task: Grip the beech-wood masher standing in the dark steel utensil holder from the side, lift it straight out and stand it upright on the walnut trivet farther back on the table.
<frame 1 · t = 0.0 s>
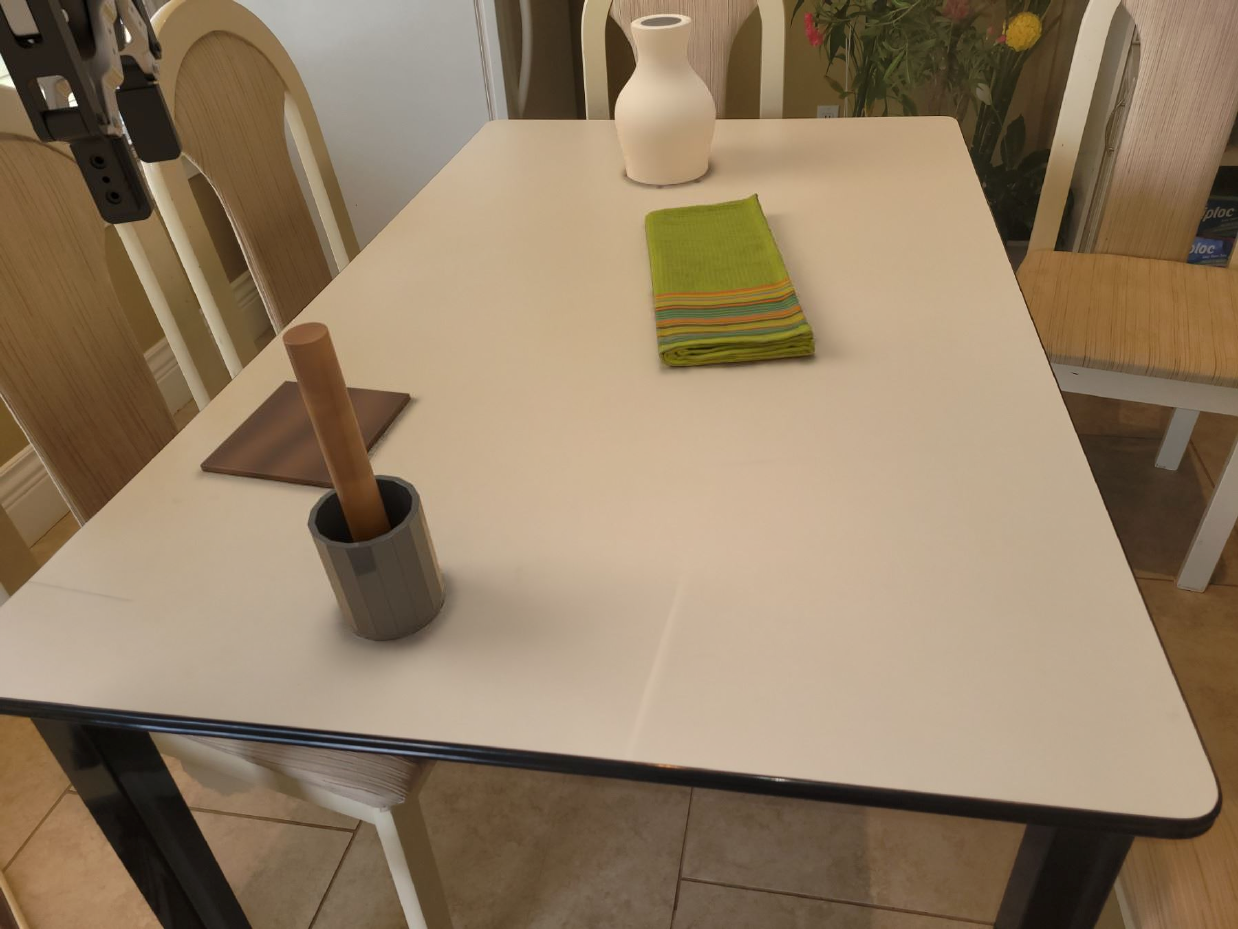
hand: (148, 187, 45), 32 cm above the table, tool pointing down, fingers open, 8 cm apart
vase: (667, 170, 130), on the table
holder: (394, 601, 65), on the table
trivet: (310, 432, 83), on the table
masher: (392, 595, 65), point 1 cm above the table, touching holder
dish towel: (717, 283, 101), on the table
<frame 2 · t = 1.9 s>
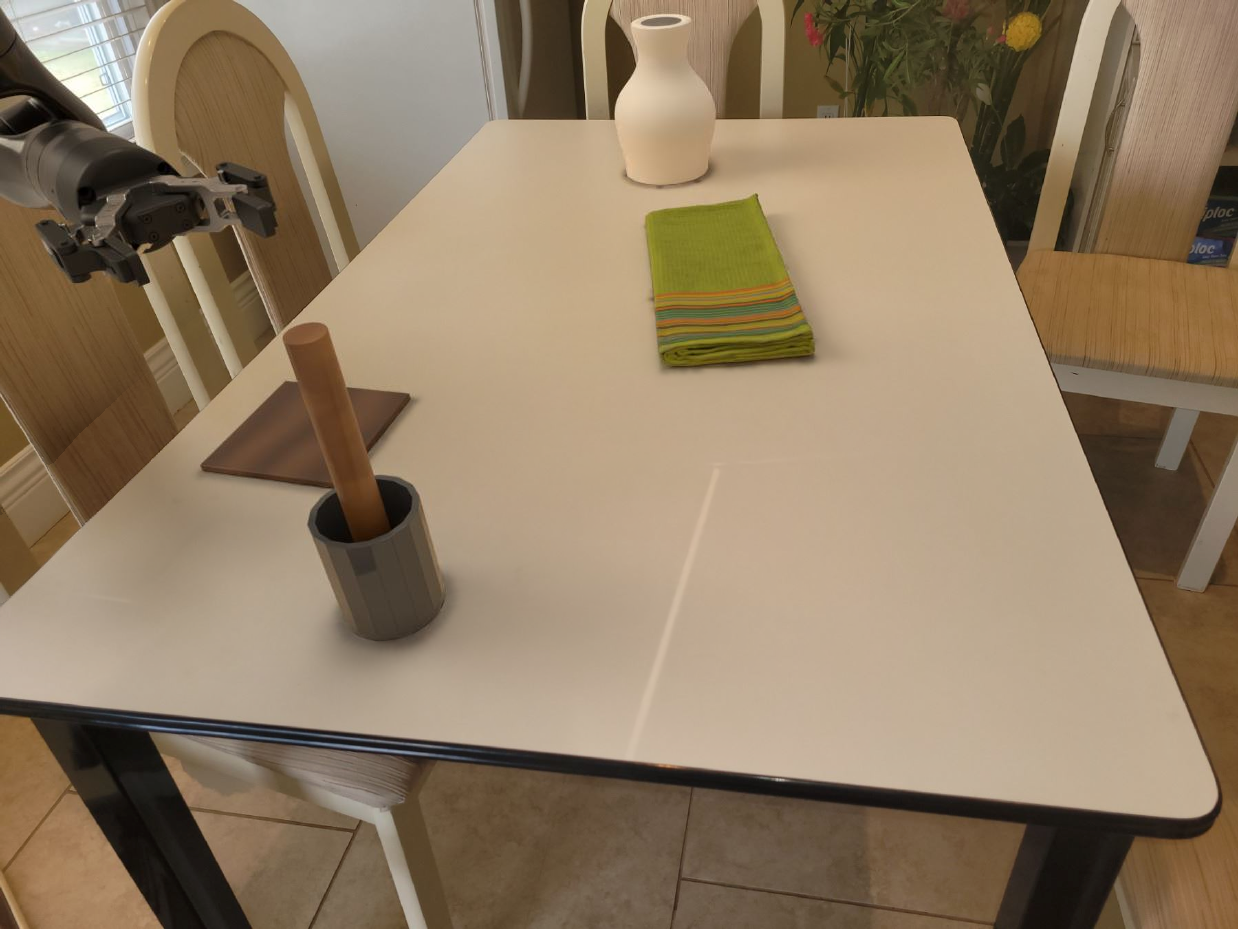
hand: (206, 245, 56), 25 cm above the table, tool horizontal, fingers open, 8 cm apart
nothing on the table moved.
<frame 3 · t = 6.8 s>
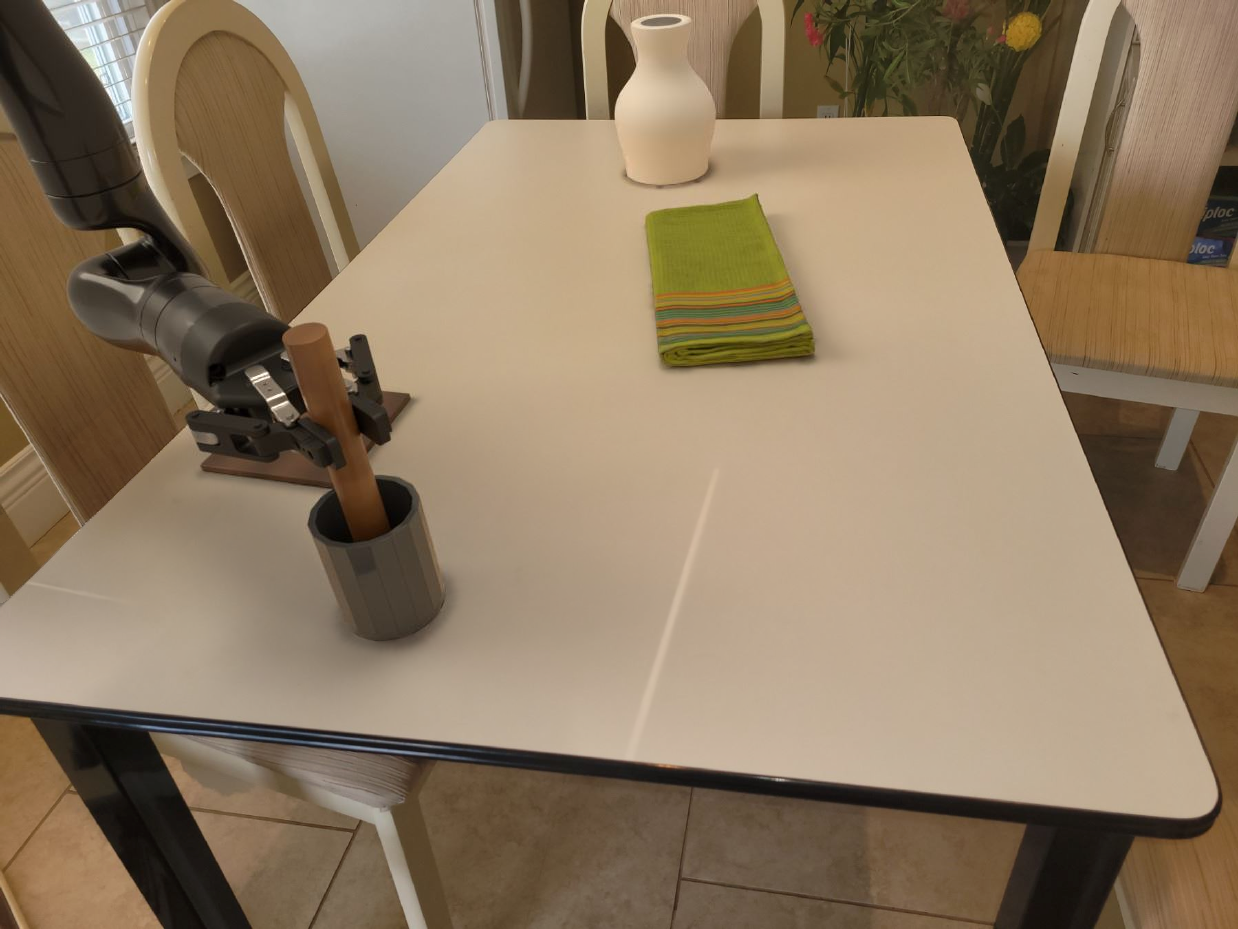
hand: (361, 442, 54), 16 cm above the table, tool horizontal, fingers closed on masher, 2 cm apart
masher: (392, 595, 65), point 1 cm above the table, touching gripper, holder
everything else where it was.
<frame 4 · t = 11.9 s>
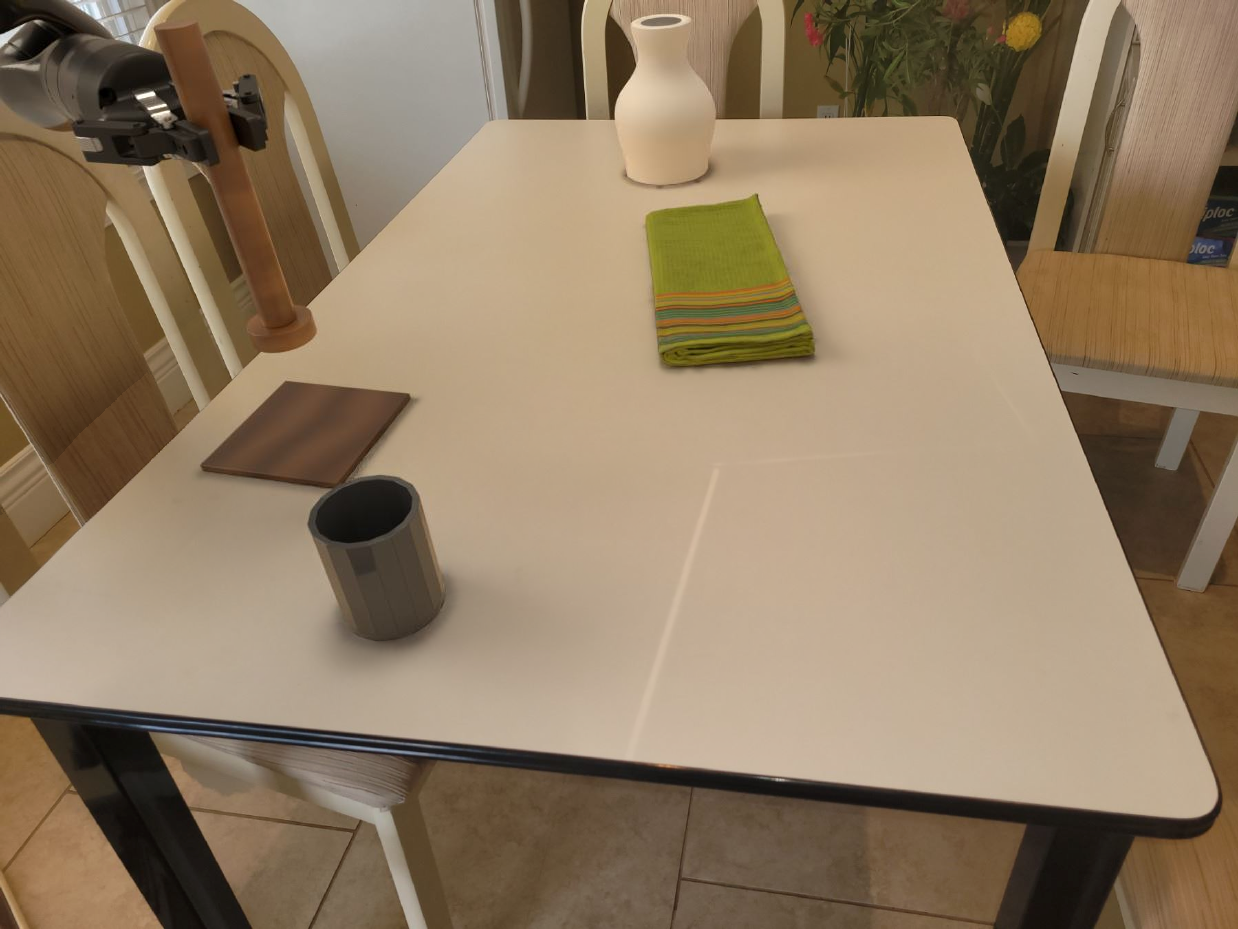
hand: (234, 141, 57), 30 cm above the table, tool horizontal, fingers closed on masher, 2 cm apart
masher: (285, 336, 68), point 15 cm above the table, touching gripper
everything else where it was.
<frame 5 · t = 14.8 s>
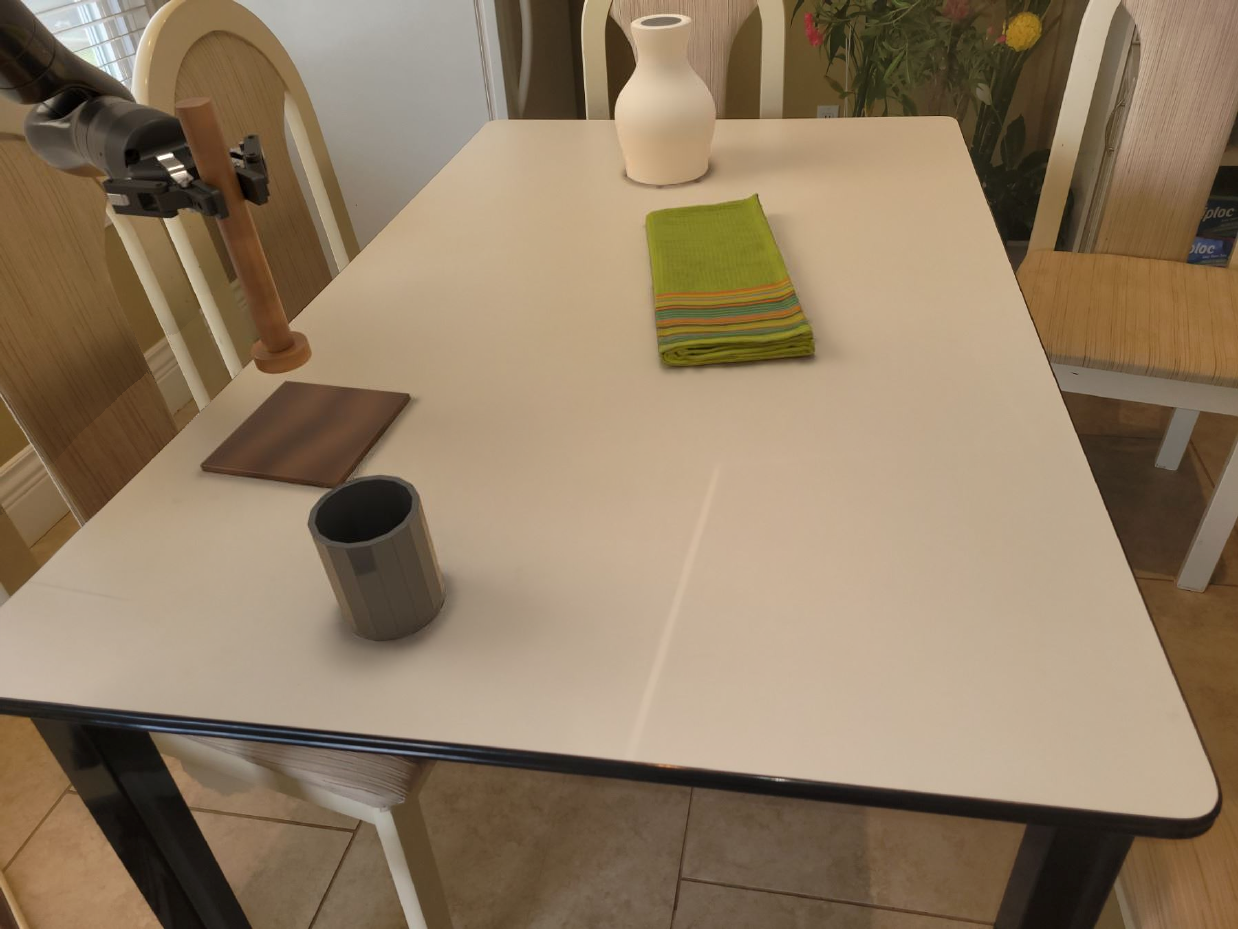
hand: (241, 198, 67), 23 cm above the table, tool horizontal, fingers closed on masher, 2 cm apart
masher: (284, 359, 79), point 8 cm above the table, touching gripper
everything else where it was.
when the fingers open (16 cm above the table, at t = 17.1 s): masher stays where it is, resting on trivet.
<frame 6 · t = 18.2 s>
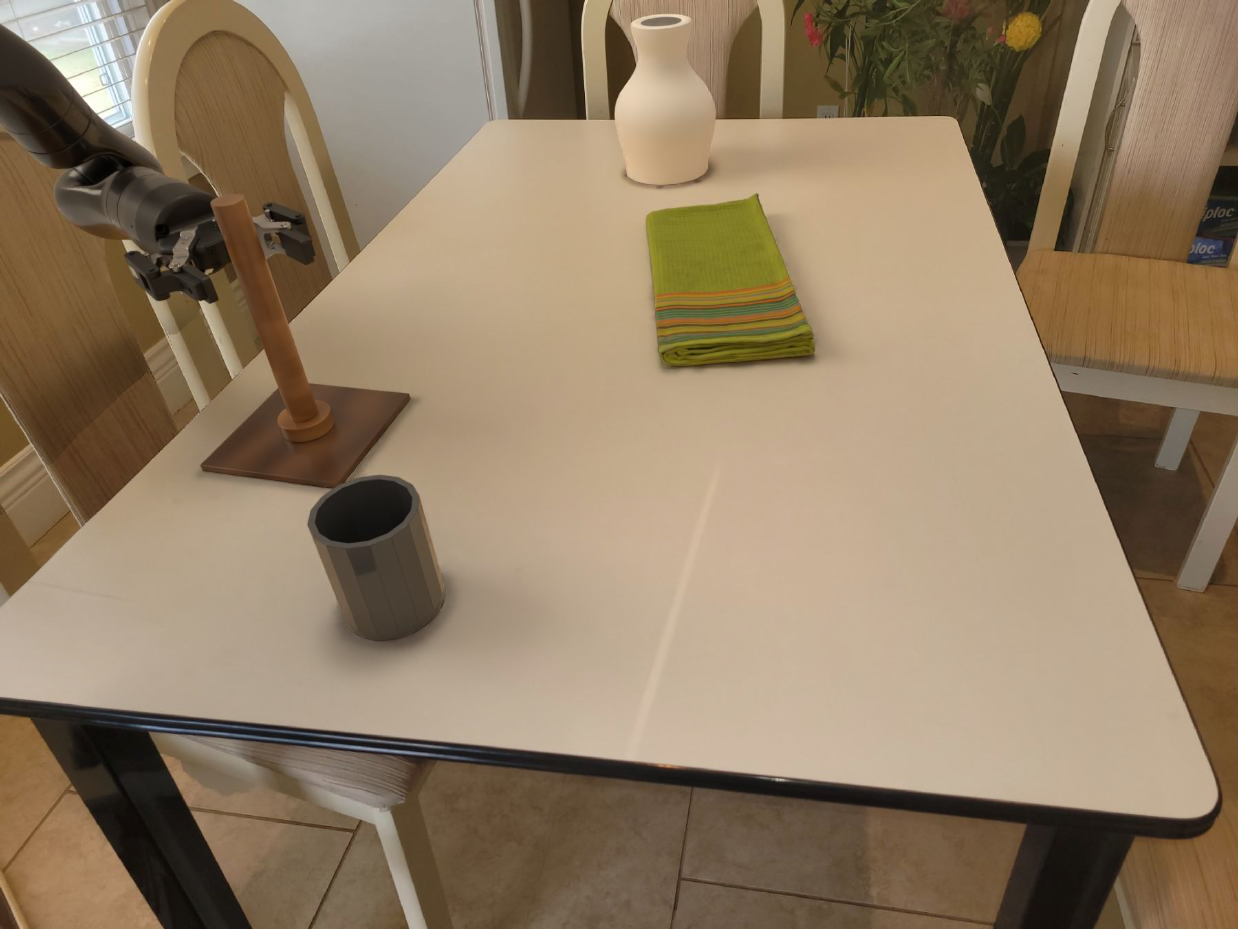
hand: (261, 271, 72), 17 cm above the table, tool horizontal, fingers open, 8 cm apart
masher: (308, 427, 83), point 1 cm above the table, touching trivet
everything else where it was.
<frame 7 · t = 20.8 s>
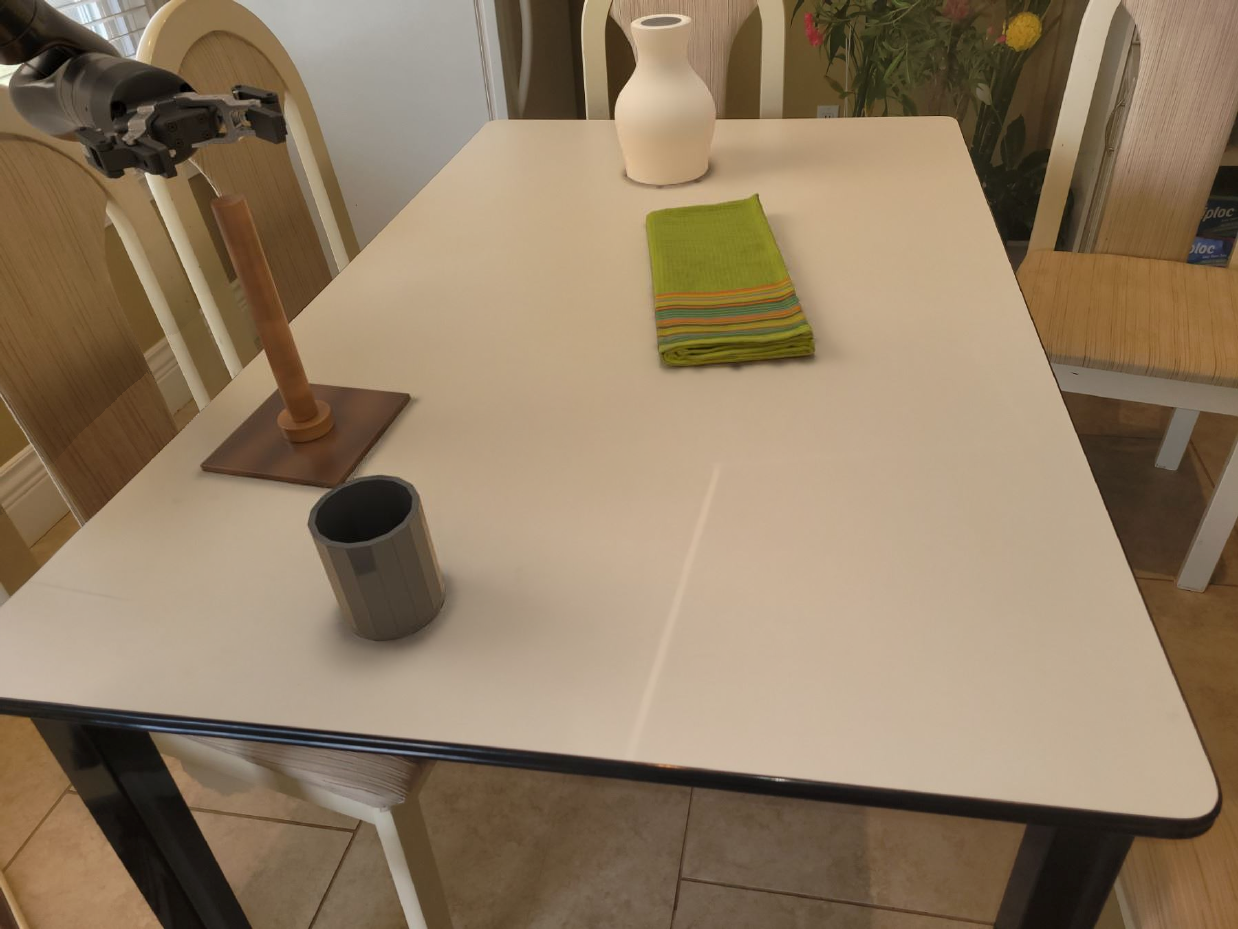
hand: (226, 145, 64), 27 cm above the table, tool horizontal, fingers open, 8 cm apart
nothing on the table moved.
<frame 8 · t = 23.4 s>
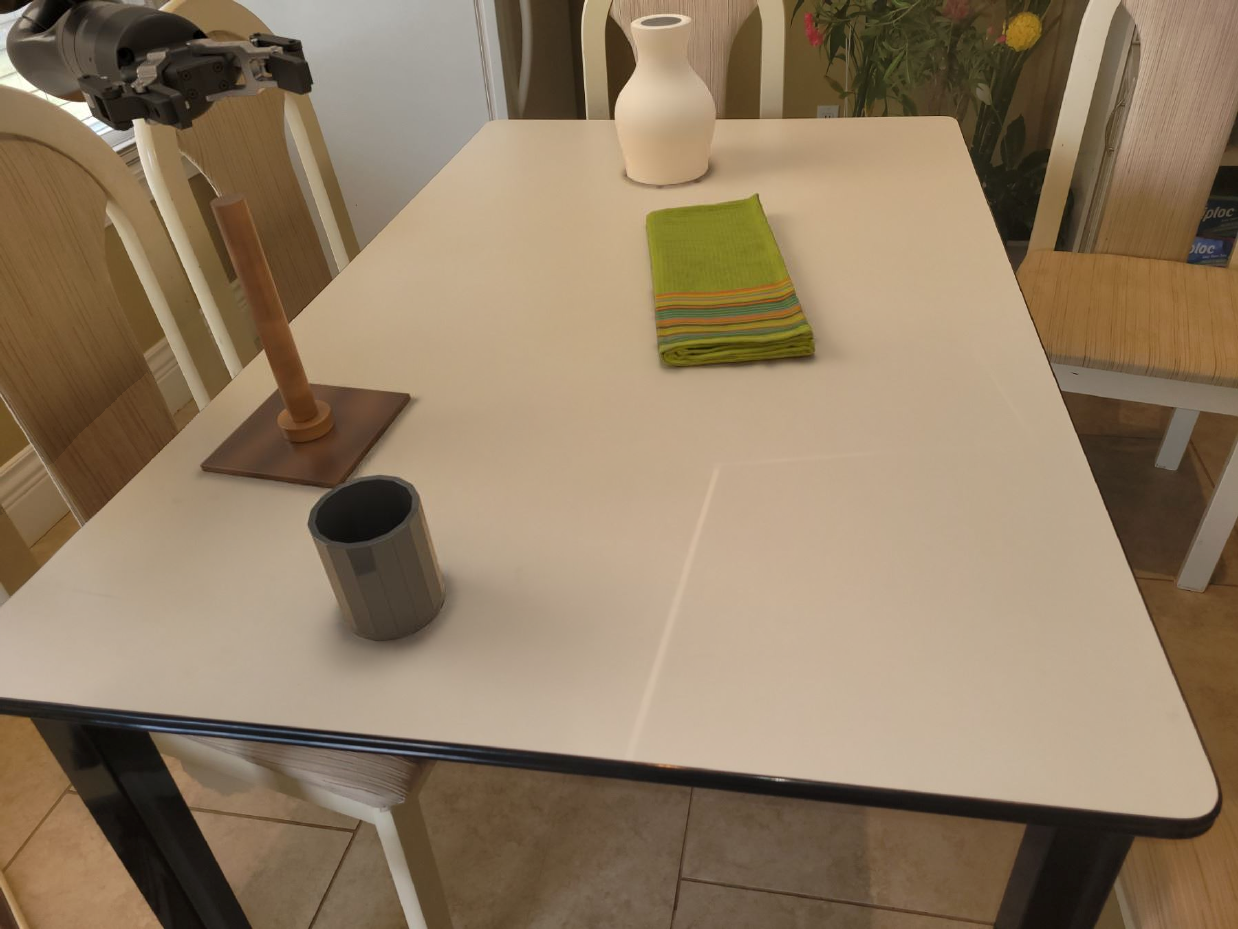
hand: (246, 94, 58), 32 cm above the table, tool horizontal, fingers open, 8 cm apart
nothing on the table moved.
at the end: masher inside the target area on the trivet (0.1 cm from its centre), point 0.6 cm above the trivet's base; masher tilted 0°; the gripper is holding nothing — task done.
